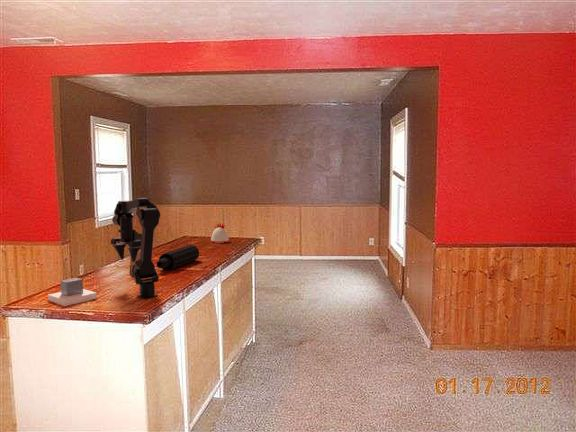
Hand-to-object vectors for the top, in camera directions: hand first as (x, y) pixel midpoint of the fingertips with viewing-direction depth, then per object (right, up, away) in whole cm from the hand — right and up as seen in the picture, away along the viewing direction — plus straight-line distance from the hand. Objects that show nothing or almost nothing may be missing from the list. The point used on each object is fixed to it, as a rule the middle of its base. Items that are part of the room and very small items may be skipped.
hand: (128, 260), depth 211 cm
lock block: (-17, -12, -18) cm, 28 cm away
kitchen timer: (+22, 0, +140) cm, 142 cm away
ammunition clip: (-7, -10, +33) cm, 35 cm away
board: (-17, -15, -18) cm, 29 cm away
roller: (+11, -9, +50) cm, 51 cm away
